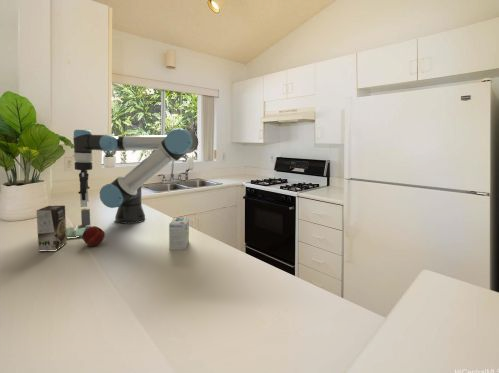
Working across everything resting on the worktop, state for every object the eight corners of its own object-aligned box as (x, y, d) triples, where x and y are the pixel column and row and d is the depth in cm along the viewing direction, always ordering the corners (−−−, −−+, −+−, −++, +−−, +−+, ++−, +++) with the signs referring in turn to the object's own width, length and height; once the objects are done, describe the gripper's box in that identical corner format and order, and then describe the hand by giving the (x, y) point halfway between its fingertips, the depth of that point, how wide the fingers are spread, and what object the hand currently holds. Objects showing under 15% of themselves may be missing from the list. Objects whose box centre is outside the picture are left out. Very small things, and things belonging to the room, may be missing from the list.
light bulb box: (173, 241, 122) (173, 217, 120) (189, 241, 122) (189, 217, 121) (168, 249, 111) (168, 223, 110) (185, 250, 112) (186, 224, 110)
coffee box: (57, 251, 105) (55, 210, 103) (38, 252, 104) (35, 210, 102) (67, 243, 114) (65, 205, 112) (50, 244, 113) (47, 205, 110)
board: (97, 229, 135) (96, 222, 134) (96, 236, 124) (96, 229, 124) (57, 232, 127) (56, 226, 127) (53, 240, 117) (52, 233, 116)
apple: (99, 248, 110) (98, 229, 109) (78, 248, 109) (77, 228, 108) (107, 242, 117) (106, 224, 116) (88, 242, 116) (87, 223, 115)
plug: (90, 223, 144) (89, 207, 142) (90, 225, 140) (89, 208, 139) (82, 224, 142) (81, 207, 141) (81, 226, 139) (81, 208, 138)
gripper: (76, 160, 146) (77, 199, 149) (71, 163, 124) (73, 209, 127) (92, 160, 150) (94, 199, 152) (91, 163, 128) (92, 208, 131)
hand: (84, 204), depth 140 cm, fingers open, 13 cm apart
